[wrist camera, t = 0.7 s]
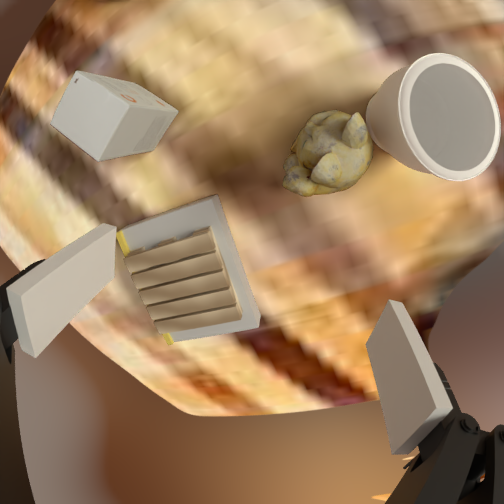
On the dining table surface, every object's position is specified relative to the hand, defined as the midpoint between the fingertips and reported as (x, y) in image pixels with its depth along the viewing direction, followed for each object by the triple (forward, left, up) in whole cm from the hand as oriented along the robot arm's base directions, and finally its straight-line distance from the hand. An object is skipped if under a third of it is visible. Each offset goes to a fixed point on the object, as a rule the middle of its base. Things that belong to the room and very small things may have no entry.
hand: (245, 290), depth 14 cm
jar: (-5, +17, -25) cm, 31 cm away
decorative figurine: (-3, +7, -25) cm, 27 cm away
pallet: (+7, -14, -22) cm, 27 cm away
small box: (-15, -13, -25) cm, 32 cm away
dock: (+7, -14, -25) cm, 30 cm away
